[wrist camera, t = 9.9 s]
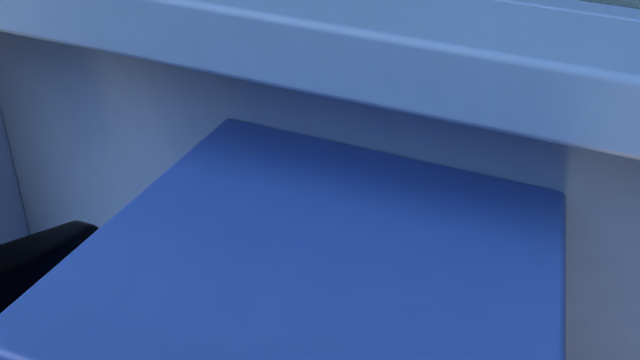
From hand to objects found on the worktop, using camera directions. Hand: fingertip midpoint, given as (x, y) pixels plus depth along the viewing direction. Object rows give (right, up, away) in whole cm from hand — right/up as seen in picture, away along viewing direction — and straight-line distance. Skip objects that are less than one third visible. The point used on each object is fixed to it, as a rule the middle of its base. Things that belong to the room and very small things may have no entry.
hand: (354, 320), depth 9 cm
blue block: (0, 0, +1) cm, 1 cm away
